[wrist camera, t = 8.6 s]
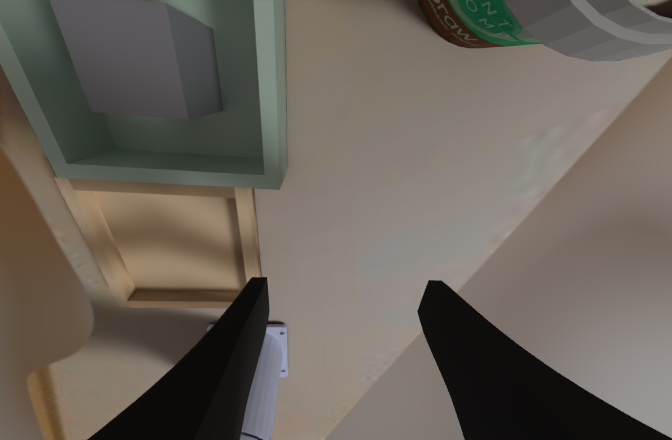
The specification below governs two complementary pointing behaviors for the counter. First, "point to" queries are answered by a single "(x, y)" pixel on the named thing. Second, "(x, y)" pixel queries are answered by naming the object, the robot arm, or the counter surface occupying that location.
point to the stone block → (141, 58)
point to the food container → (557, 25)
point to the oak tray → (168, 240)
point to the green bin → (153, 132)
